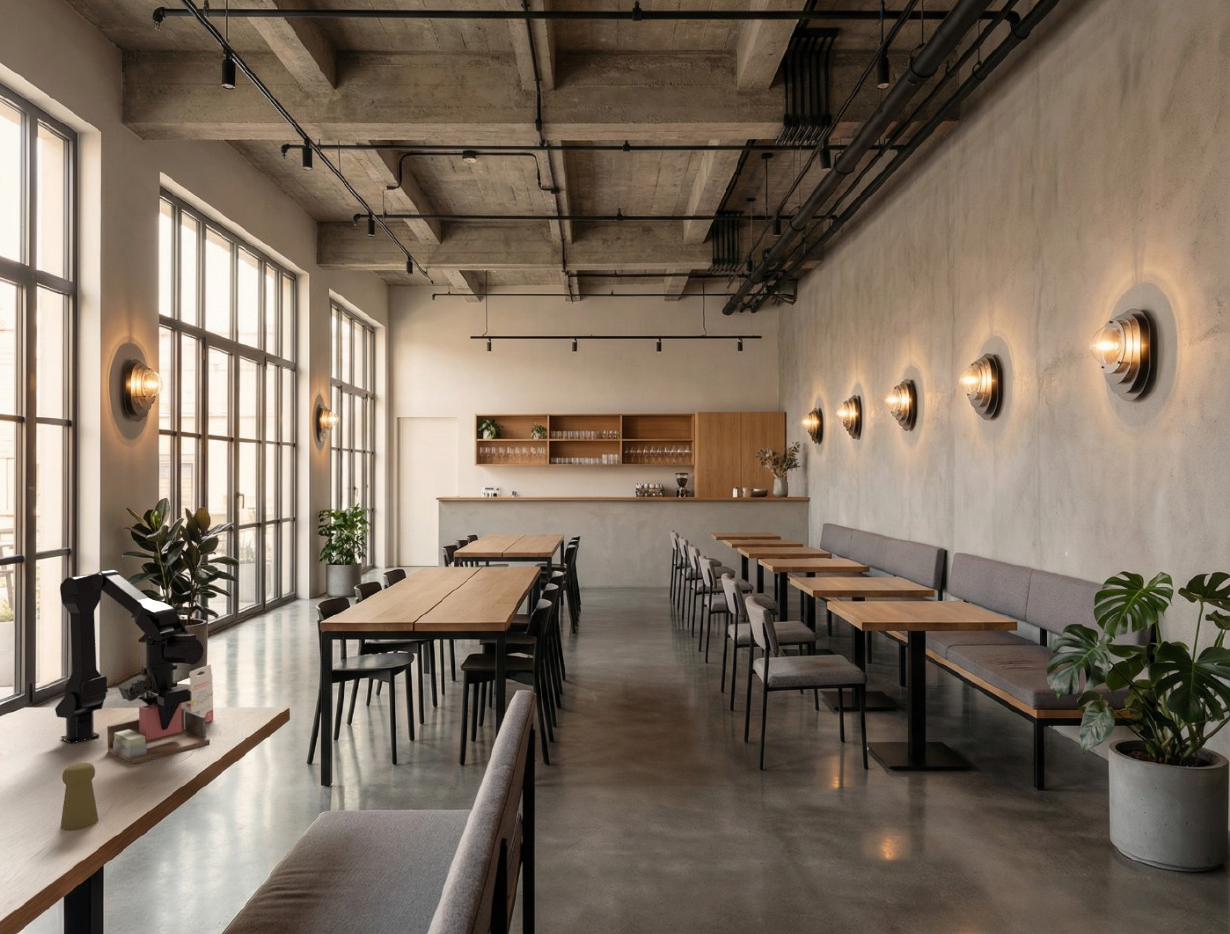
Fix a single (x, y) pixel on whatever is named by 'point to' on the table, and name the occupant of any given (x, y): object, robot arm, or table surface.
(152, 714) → the tall dusty pink block
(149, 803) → the table surface
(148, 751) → the shelf
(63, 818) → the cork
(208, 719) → the ink cartridge box
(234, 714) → the table surface
